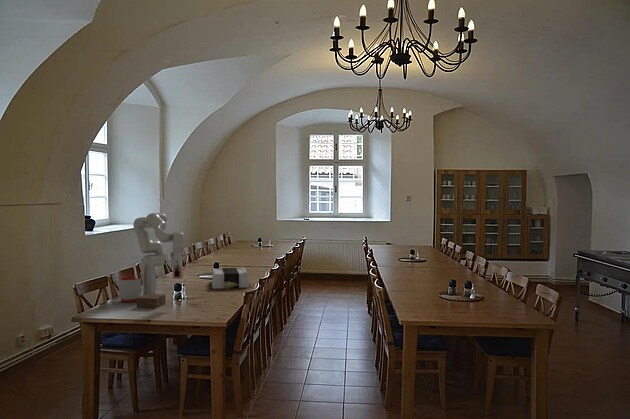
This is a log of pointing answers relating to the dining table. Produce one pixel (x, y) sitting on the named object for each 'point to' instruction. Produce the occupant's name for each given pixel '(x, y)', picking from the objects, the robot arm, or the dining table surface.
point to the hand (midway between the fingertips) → (178, 275)
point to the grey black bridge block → (229, 278)
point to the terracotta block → (179, 273)
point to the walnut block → (151, 301)
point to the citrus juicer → (129, 288)
